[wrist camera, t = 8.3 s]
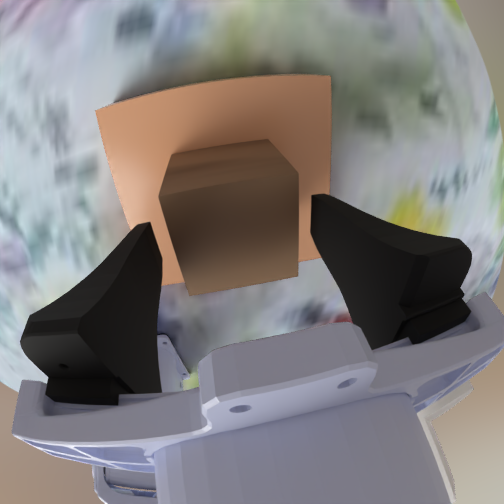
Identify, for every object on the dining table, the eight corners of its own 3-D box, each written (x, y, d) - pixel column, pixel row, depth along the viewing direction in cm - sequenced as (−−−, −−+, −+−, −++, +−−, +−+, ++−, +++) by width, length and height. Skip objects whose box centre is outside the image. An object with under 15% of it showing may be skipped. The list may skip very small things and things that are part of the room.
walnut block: (273, 220, 16) (297, 276, 13) (189, 234, 16) (189, 296, 12) (267, 139, 13) (298, 173, 10) (171, 154, 13) (158, 196, 9)
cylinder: (367, 386, 47) (410, 501, 25) (335, 368, 38) (391, 529, 16) (439, 340, 43) (495, 453, 21) (432, 304, 33) (515, 462, 11)
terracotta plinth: (310, 233, 21) (324, 257, 19) (157, 259, 20) (153, 286, 18) (310, 73, 14) (330, 76, 12) (112, 103, 13) (95, 110, 11)
